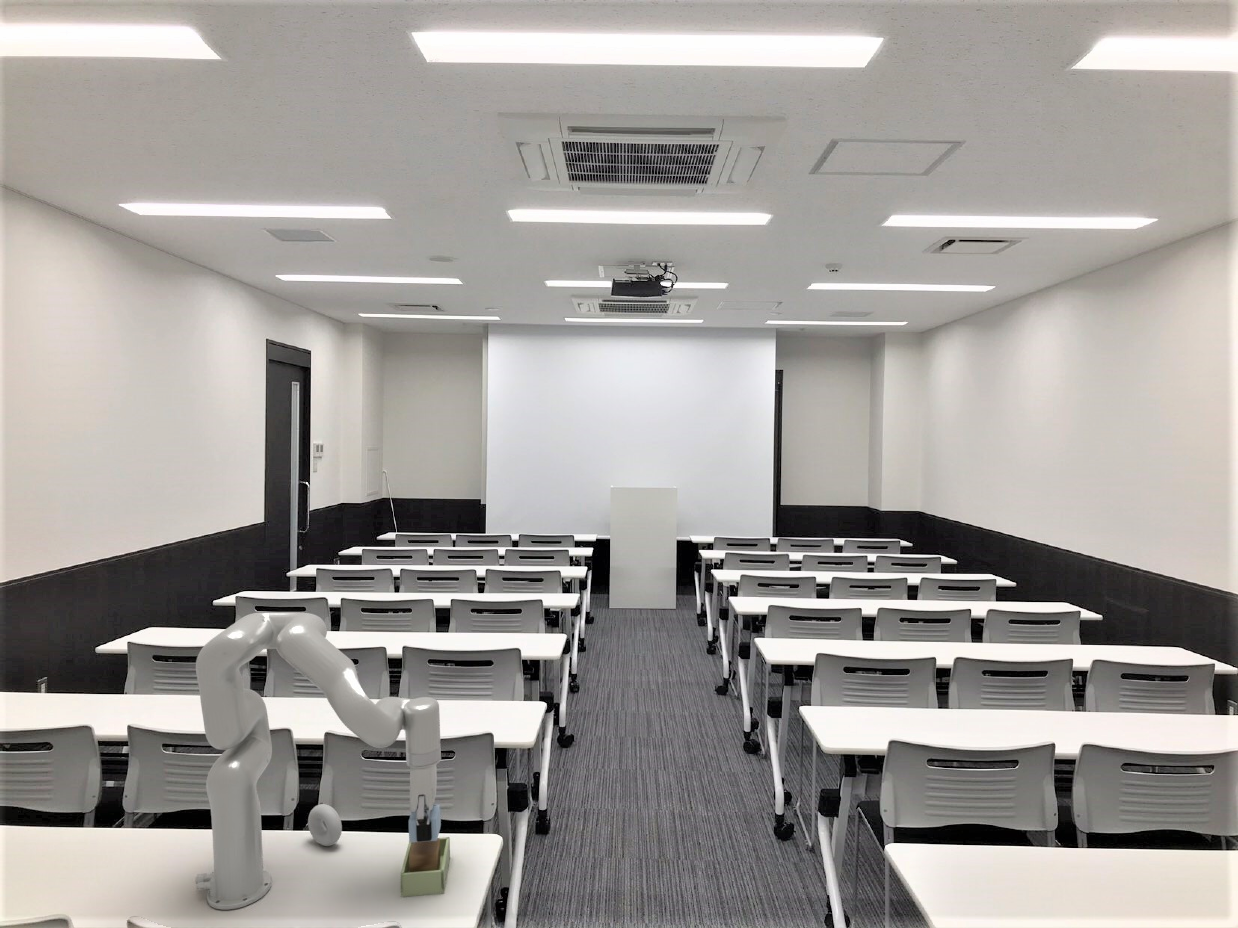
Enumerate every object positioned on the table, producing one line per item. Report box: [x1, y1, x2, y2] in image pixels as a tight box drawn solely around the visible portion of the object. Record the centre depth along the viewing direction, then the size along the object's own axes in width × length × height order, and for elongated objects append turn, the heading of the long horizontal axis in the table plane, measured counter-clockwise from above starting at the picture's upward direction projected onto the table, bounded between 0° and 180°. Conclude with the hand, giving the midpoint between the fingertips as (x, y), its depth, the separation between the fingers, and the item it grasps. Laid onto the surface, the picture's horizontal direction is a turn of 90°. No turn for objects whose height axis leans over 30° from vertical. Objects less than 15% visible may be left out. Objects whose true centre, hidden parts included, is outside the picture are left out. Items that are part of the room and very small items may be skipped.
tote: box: [399, 836, 451, 898], centre depth 169 cm, size 9×13×5 cm
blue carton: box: [408, 804, 442, 843], centre depth 168 cm, size 6×6×5 cm
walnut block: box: [409, 837, 441, 872], centre depth 168 cm, size 6×6×6 cm
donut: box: [307, 803, 343, 847], centre depth 181 cm, size 10×4×10 cm, turn 62°
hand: (426, 830), depth 168 cm, fingers closed on blue carton, 6 cm apart
